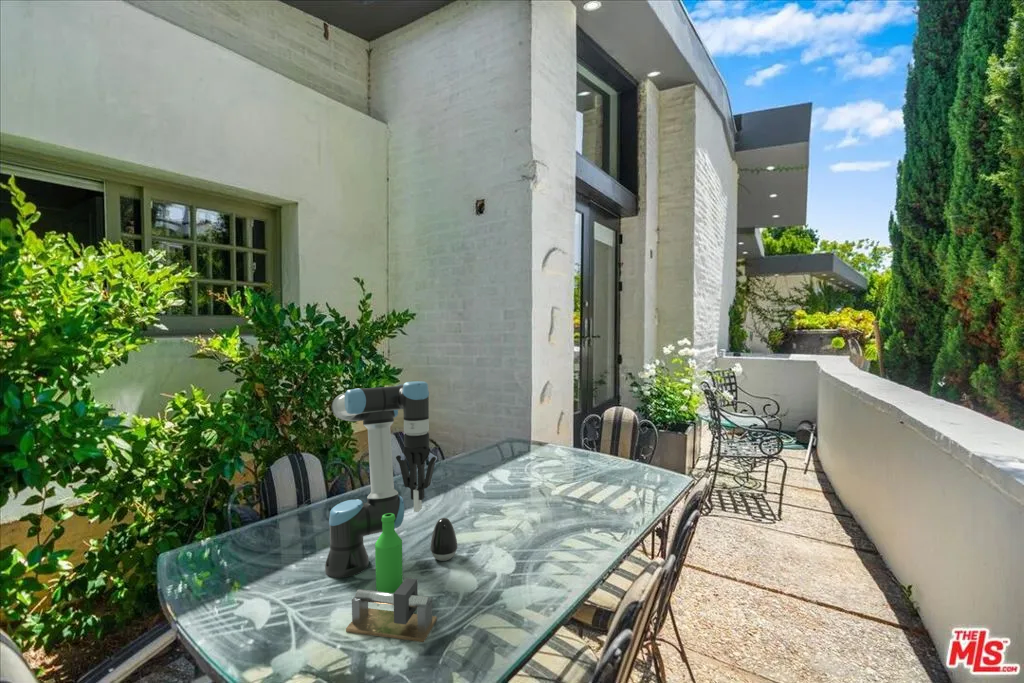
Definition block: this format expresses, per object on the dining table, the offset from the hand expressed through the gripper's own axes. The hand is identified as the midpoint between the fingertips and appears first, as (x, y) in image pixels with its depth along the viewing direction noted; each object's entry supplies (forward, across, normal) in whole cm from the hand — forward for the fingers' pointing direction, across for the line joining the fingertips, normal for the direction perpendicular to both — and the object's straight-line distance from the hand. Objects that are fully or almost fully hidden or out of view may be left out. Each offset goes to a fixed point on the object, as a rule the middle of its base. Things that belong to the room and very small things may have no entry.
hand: (417, 510), depth 137 cm
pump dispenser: (+33, -5, +35) cm, 48 cm away
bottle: (+33, -16, +12) cm, 38 cm away
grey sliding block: (+29, -1, -6) cm, 29 cm away
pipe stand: (+32, -6, -6) cm, 33 cm away
